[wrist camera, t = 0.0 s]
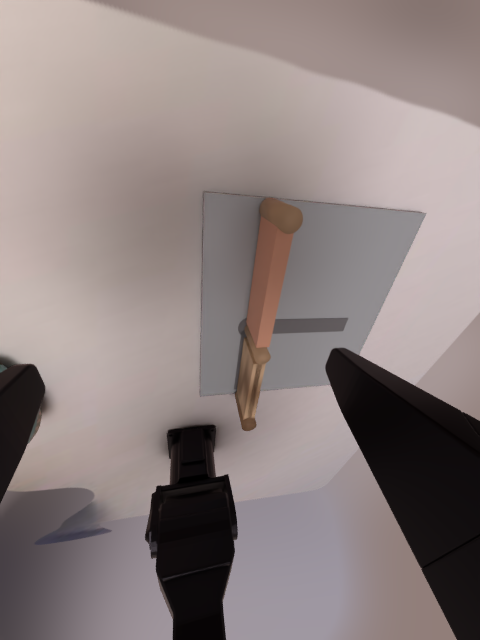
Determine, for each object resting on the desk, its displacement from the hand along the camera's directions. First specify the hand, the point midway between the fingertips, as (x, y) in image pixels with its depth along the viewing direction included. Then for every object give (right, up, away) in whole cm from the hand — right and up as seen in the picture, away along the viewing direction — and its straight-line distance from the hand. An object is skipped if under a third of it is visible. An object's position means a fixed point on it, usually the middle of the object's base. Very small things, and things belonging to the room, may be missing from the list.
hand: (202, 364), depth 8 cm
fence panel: (+3, +5, +14) cm, 15 cm away
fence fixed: (+2, -4, +20) cm, 21 cm away
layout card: (+7, +2, +18) cm, 20 cm away
